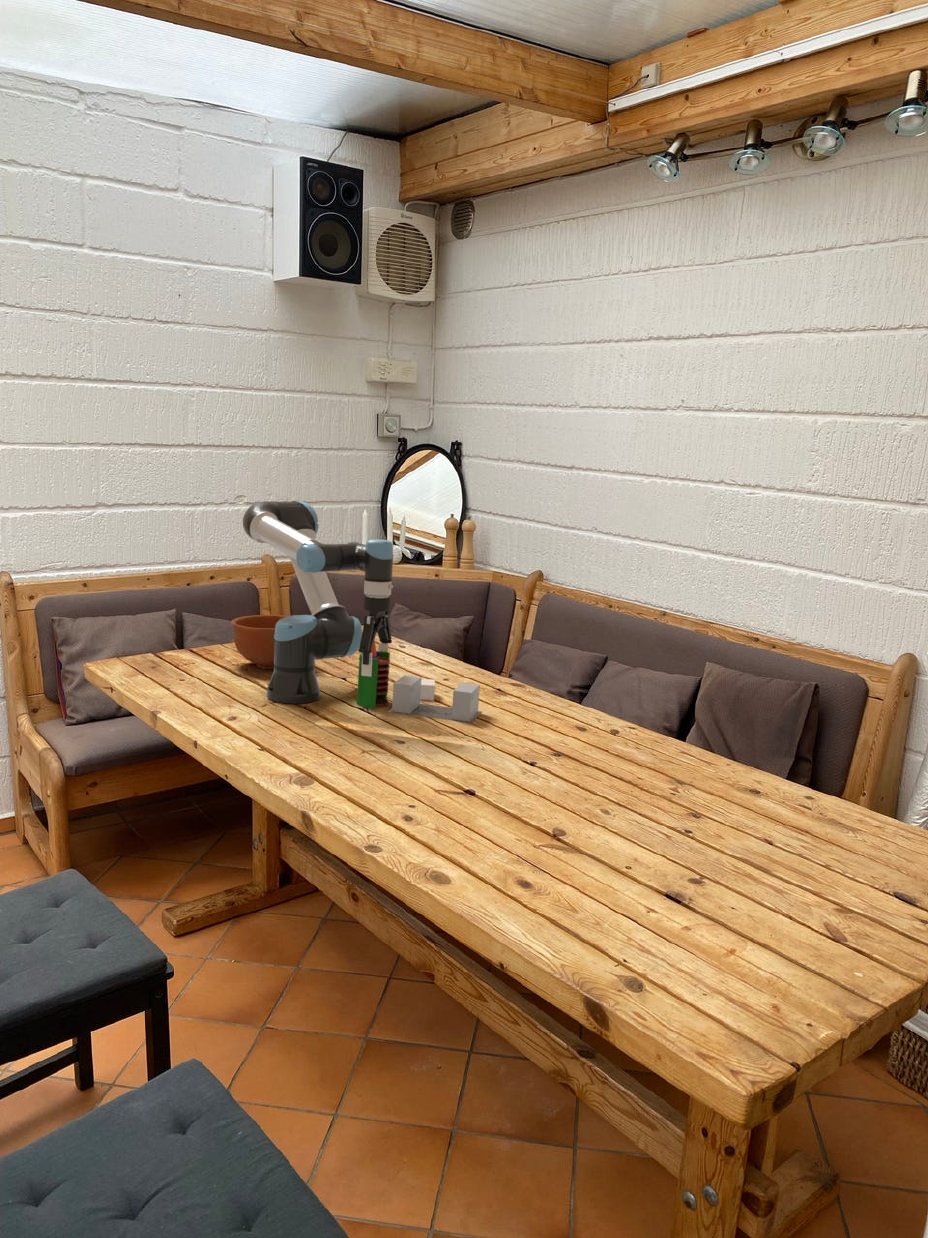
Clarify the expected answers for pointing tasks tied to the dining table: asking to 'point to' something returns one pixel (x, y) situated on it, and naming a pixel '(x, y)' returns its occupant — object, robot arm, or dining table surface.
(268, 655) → the bowl
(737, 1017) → the dining table surface
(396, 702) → the block
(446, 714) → the rail plate
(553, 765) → the dining table surface
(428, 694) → the loose relay
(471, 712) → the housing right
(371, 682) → the motor
